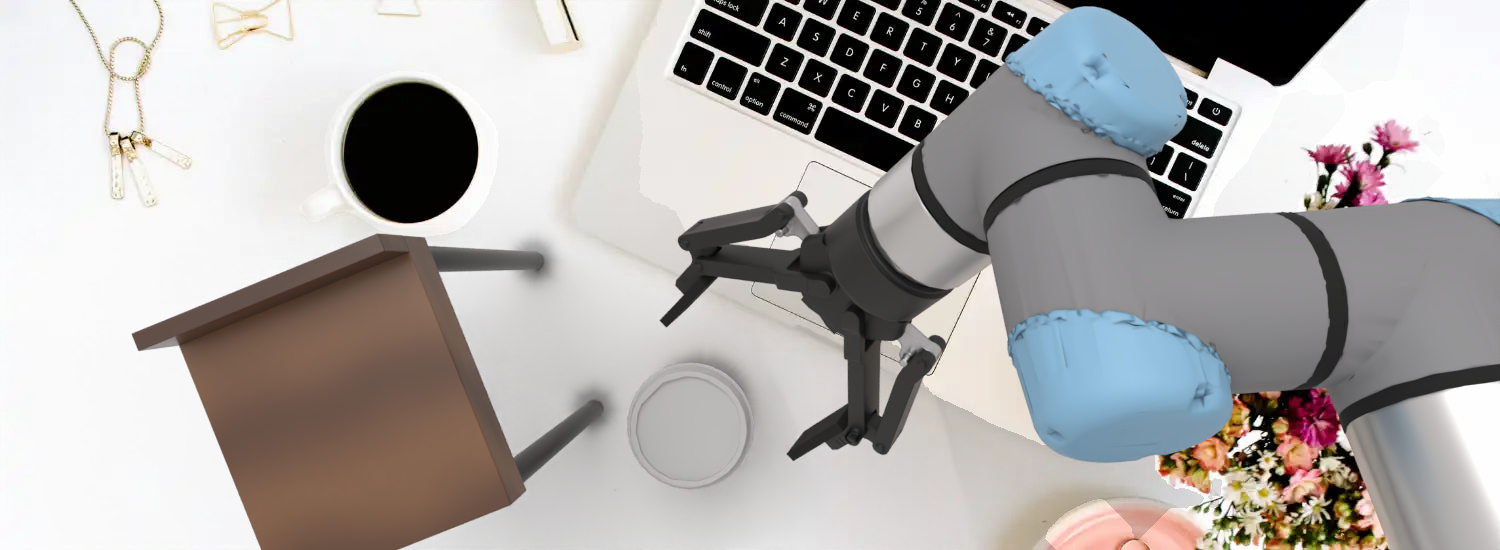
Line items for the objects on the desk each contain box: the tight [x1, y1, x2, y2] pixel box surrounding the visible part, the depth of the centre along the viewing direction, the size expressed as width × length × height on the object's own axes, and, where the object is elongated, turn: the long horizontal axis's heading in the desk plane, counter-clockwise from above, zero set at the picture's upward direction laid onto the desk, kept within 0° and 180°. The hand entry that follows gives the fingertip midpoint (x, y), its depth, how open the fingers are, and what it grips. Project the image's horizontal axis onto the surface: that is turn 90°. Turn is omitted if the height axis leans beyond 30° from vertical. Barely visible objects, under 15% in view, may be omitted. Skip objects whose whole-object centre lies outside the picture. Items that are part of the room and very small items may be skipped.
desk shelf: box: [131, 232, 527, 550], centre depth 47 cm, size 16×14×6 cm
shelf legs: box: [428, 245, 604, 484], centre depth 62 cm, size 16×14×25 cm
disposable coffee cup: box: [626, 362, 755, 490], centre depth 69 cm, size 10×10×12 cm
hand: (735, 380), depth 64 cm, fingers open, 13 cm apart
